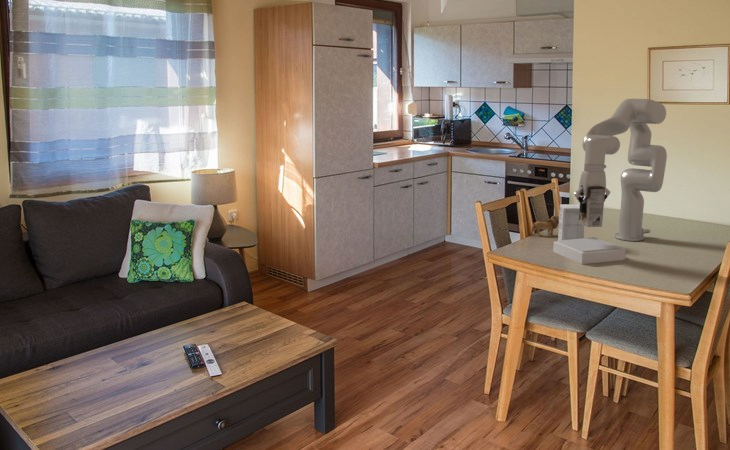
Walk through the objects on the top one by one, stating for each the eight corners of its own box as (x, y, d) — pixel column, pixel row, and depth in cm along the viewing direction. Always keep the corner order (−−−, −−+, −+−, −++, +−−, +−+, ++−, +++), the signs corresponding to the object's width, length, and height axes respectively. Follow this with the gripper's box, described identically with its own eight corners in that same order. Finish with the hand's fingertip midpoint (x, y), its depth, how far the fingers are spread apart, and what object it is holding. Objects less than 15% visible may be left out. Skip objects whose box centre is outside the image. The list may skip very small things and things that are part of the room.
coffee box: (578, 222, 273) (580, 183, 270) (593, 222, 274) (595, 183, 270) (587, 227, 264) (589, 187, 261) (602, 227, 265) (605, 186, 261)
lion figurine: (555, 233, 312) (556, 214, 310) (561, 235, 307) (562, 216, 305) (526, 235, 308) (527, 216, 306) (532, 237, 303) (533, 218, 301)
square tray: (593, 248, 284) (594, 236, 283) (624, 259, 265) (625, 247, 264) (553, 251, 278) (553, 240, 277) (581, 264, 260) (582, 251, 259)
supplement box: (579, 241, 296) (581, 204, 292) (583, 246, 287) (586, 208, 283) (557, 240, 297) (559, 203, 293) (561, 245, 288) (563, 207, 284)
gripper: (606, 166, 270) (603, 209, 274) (569, 168, 265) (566, 211, 269) (618, 168, 263) (615, 212, 267) (580, 170, 258) (577, 215, 262)
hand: (591, 211), depth 268 cm, fingers closed on coffee box, 7 cm apart
